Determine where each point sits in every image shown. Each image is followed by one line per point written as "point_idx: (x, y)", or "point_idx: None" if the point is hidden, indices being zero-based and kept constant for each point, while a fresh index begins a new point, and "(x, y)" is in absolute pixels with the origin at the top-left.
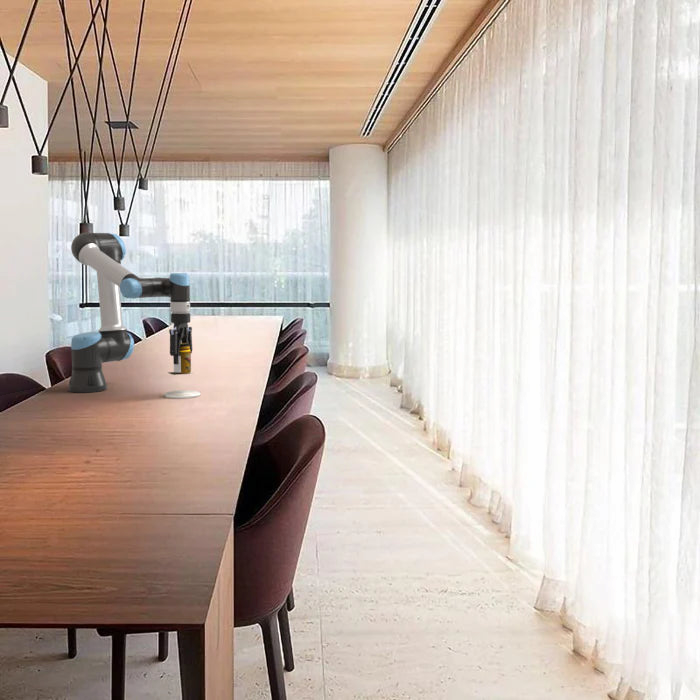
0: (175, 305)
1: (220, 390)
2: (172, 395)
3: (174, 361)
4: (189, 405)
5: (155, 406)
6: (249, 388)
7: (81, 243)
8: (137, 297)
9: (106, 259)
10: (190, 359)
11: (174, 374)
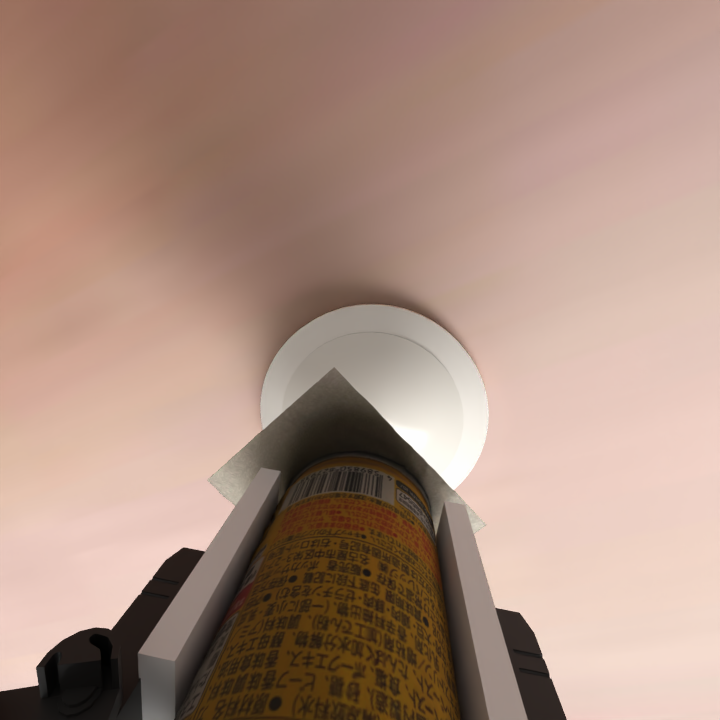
0: None
1: (585, 566)
2: (276, 390)
3: (153, 590)
4: (118, 529)
5: (35, 386)
6: (662, 688)
7: None
8: None
9: None
10: None
11: (246, 470)
